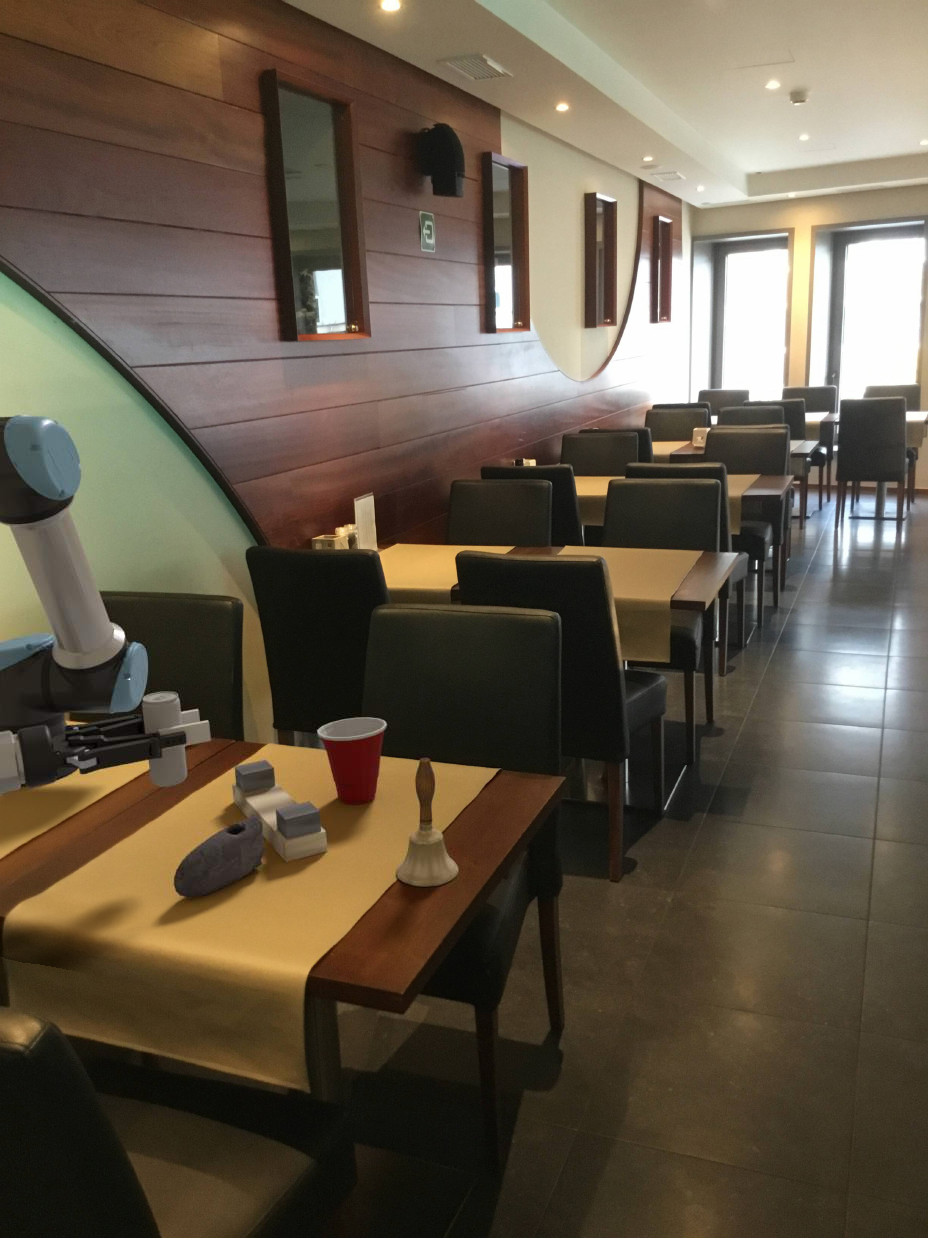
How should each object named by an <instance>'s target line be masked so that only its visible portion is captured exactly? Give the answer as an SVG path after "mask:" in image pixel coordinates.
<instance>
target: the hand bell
mask: <svg viewBox="0 0 928 1238" xmlns="http://www.w3.org/2000/svg"><path fill="white" fill-rule="evenodd" d="M415 773H416V774H415V780H414V781H415V784H414V785H415V792H416V796H417V799H418V802H419V823H418V824H419V826H418V829H415V830H413V831H412V832H411V833H410V835H409V839H408V848H407V851H406V855H405V857H404V859H403V860H402V861H401V862H400V863H399V865H398V867H396V871H395V872H396V876H397V877H396V878H398V880H400V881H401V882H402V883H404V884H407V885H411V886H413V887H414V886H415V887H435V886H440V885H444V884H446V883H448V882H451V881H452V880H454V879H455V878H456V877H457V876H458V874H459V871H460V870H459V865H457V863H456V861H454V860H453V858H451V857H450V855H449V854H448V853H447V849H446V846H445V841H444V835H443V833H442V832H441V831H440V830H439V829H436V828H434V827H433V811H432V806H433V805H432V803H433V798H434V794H435V790H436V777H435V772H434V769H433V767H432V764H431V759H430V758H428V757H422V758H420V759H419V763H418V767H417V770H416V772H415Z"/></svg>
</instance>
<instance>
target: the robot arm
mask: <svg viewBox="0 0 928 1238" xmlns="http://www.w3.org/2000/svg"><path fill="white" fill-rule="evenodd" d="M80 463H81V459H80V455H79V452H78V449H77V446H76V444H75V442H74V439H73V438H72V436H71V434H70V433H69V432H68V431H67V429H66V428H65V427H64V426H63V425H62V424H61V423H60V422H58V421H56V420H54V419H52V418H50V417H47V416H34V415H32V416H31V415H28V414H17V415H14V416H0V524H2V525H5V526H8V527H9V528H10V531H11V532H12V536H13V538H14V541H15V542H16V545H17V548H18V550H19V552H20V555H21V557H22V559H23V563H24V565H25V567H26V569H27V571H28V574H29V576H30V579H31V580H32V584H33V586H34V588H35V591H36V593H37V596H38V598H39V601H40V603H41V605H42V608H43V610H44V613H45V615H46V617H47V620H48V622H49V624H50V626H51V630H52V632H53V634H52V633H46V632H45V633H43V632H42V633H34V634H27V635H23V636H18V637H15V638H10V639H8V640H5V641H1V642H0V798H1V797H2V796H3V795H4V793H9V792H13V791H18V790H20V788H21V787H22V786H25V787H27V788H29V789H31V788H35V787H40V786H45V785H49V784H50V785H51V784H54V783H55V782H56V781H57V780H58V779H59V778H62V777H65V776H68V775H70V774H71V773H72V772H75V771H76V770H77V769H79V770H78V771H79V774H80V775H87V774H89V773H90V774H91V773H93V772H96V771H99V770H104V769H109V768H114V767H118V766H119V767H120V766H124V765H129V764H134V763H135V764H136V763H139V762H145V761H149V760H150V759H156V758H158V759H159V758H162V750H167V749H172V748H177V747H182V746H184V747H185V746H190V745H196V744H201V743H207V742H211V741H212V738H211V730H210V729H211V727H210V722H209V720H207V719H206V720H202V721H201V720H200V711H199V709H198V708H196V709H195V708H194V709H190V710H184V711H181V718H182V725H179V726H174V727H168V728H163V729H158V732H159V733H149V734H145V726H144V718H143V711H141V712H140V713H141V714H139V713H137V714H136V713H135V714H132V715H126V716H120V717H115V718H110V719H103V720H99V721H93V722H92V721H91V722H87V723H81V724H80V723H78V724H68V723H67V721H66V716H65V714H67V713H68V714H73V713H74V714H76V713H77V714H78V713H80V714H81V713H83V714H85V713H86V714H87V713H88V714H115V713H124V712H125V713H127V712H131V711H133V710H135V709H136V708H137V707H138V706H139V705H140V703H141V702H142V699H143V697H144V696H145V691H146V688H147V687H146V686H147V681H148V673H149V661H148V653H147V650H146V648H145V646H144V645H143V644H142V643H139V642H136V641H133V642H128V639H127V637H126V634H125V631H124V630H123V628H122V627H121V626H120V625H118V624H117V623H114V622H111V621H110V618H109V615H108V613H107V609H106V608H105V604H104V602H103V599H102V597H101V596H102V595H101V593H100V590H99V589H98V585H97V582H96V580H95V577H94V574H93V572H92V569H91V566H90V563H89V561H88V558H87V555H86V553H85V550H84V549H85V548H84V546H83V545H82V542H81V539H80V536H79V534H78V531H77V527H76V525H75V522H74V518H73V517H72V514H71V511H70V509H69V508H70V507H71V506H72V504H73V503H74V501H75V495H76V493H77V492H78V489H80V488H79V487H80V485H81V479H82V469H81V468H80V466H79V464H80Z"/></svg>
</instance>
